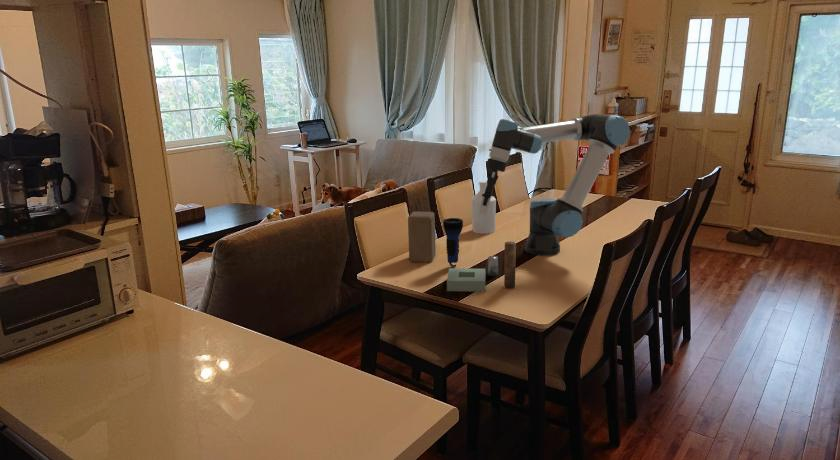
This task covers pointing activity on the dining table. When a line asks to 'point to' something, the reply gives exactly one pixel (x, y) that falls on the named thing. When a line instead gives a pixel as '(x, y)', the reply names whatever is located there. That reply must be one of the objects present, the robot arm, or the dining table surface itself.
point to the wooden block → (421, 236)
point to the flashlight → (452, 238)
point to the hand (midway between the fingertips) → (482, 212)
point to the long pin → (510, 265)
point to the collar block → (466, 280)
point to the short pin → (493, 265)
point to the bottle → (480, 221)
